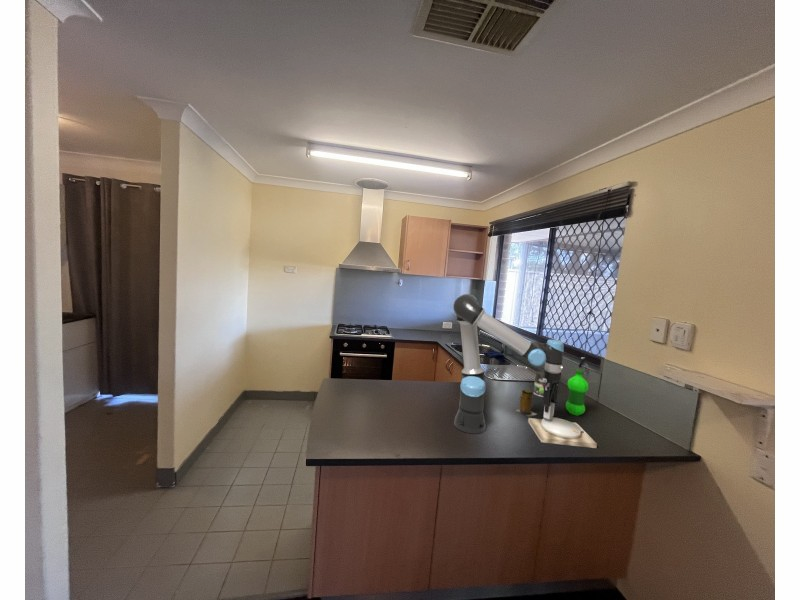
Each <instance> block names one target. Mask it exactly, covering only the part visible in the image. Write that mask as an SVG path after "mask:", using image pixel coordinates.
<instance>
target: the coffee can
mask: <svg viewBox="0 0 800 600" xmlns="http://www.w3.org/2000/svg"><path fill="white" fill-rule="evenodd" d="M544 371H545V370H544ZM544 371H543V370H536V371H535V372H534V373H535V376H534V386H533V391H532V394H534V395H535V396H538V397H541V398H543V394H544V386H546V382H547V379H545V378H544Z"/></svg>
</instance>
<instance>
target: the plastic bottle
mask: <svg viewBox="0 0 800 600" xmlns="http://www.w3.org/2000/svg"><path fill="white" fill-rule="evenodd" d="M584 372H585V371H584V370H582V369H580V368H579V369H578V368H577V369H575V370H574V374H575V375H574V376H572V377H569V378H568V380H567V388H568V389H569V390H568V399H567V401H566V402H565V408H566V411H567V412H568V413H569V414H570V415H573V416H577V417H579V416H580V415H583V414H584V413H585V411H586V406H585V395H586V392H588V391H589V383H588V381H587V380H585V378H584V377H583V375H584Z"/></svg>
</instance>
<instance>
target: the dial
mask: <svg viewBox="0 0 800 600" xmlns="http://www.w3.org/2000/svg"><path fill="white" fill-rule="evenodd" d="M554 404H555V403H553V402H551V403H550V406H551V410H550V419H547V418H544V417H543V418H541V419H542V422H541V426H542V428H543V429H544V430H545V431H547V432H548V433H550V434H552V435H555V436H558V437H561V438H567V439H576V438H579V437H580V434H581V429H580V428H579V427H578V426H577V425H575V424H574V423H575V422H573V423H572V421H569V420H567V419H562V418H559V417H554V415H553V406H554V407H555V405H554ZM552 415H553V416H552Z"/></svg>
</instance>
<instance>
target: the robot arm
mask: <svg viewBox="0 0 800 600" xmlns="http://www.w3.org/2000/svg"><path fill="white" fill-rule="evenodd" d="M453 311H454V313H455V315H456V322H457V323H459V326H460V335H461V336H460V338H461V348H462V349H461V350H462V358H463V360H462V361H463V369H461V377H462V378H461V380H460V390H459V404H458V405H459V406H458V410H457V413H456V414H455V417H454V422H453V425H454V427H455V428H457V430H459V431H461V432H464V433H467V434H482V433H484V432H485V431H486V427H487V425H486V424H487V423H486V420H485V415H484V406H485V405H484V404H485V397H486V396H485V394H486V386H487V382H486V377H485V370H484V368H483V367H481V356H480V346H479V337H478V336H479V335H478V333H479V332H478V328H480V329H481V330H483V331H484V332H486V333H488V334H489V335H490V336H492V337H493V338H494V339H496V340H497V341H499V342H501V343H502V344H504V345H505V346H507V347H508V348H510V349H511V350H512V351H514V352H516V353H517V354H519V355H520V356H522V357H523V358H524V359H525V360H527V361H528V362H529V364H531V365H532V366H534V367H541V366H544V378H545V379H547V382H546V386H544V394H543V397H542V405H543V406H544V408H543V409H544V410H543V416H542V417H543V419H544V418H547V419H550V410H551V406H550V403H551V402H553V403H554V406H553V415H552V417H554V414H555V404H557V403H558V402H557V401H558V392H559V385H560V381H561V380H562V373H561V372H562V370H563V369H564V367H563V359H564V352H565V349H564V348H565V344H564V341H561V340H559V339H548V340H547V341H546V343H543V342H542V343H541V342H535V341H533V342H532V341H529V340H528V339H526V338H525V337H523V336H522V335H521V334H519V333H517V332H516V331H514V330H513V329H511V328H509V327H508V326H507V325H506V324H504V323H502V322H501V321H499V320H498V319H496V318H495V317H493V316H491V315H490V314H489V313H487V312H486V311H485V308H483V307H482V306H481V305H480V303H479V301H478V298H476V297H475V296H474V295H473V294H469V293H465V294H461V295H459V296H458V297H456V299H455V300H454V302H453Z"/></svg>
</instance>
